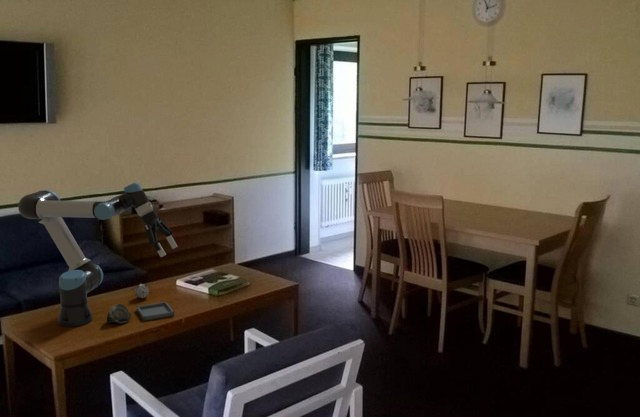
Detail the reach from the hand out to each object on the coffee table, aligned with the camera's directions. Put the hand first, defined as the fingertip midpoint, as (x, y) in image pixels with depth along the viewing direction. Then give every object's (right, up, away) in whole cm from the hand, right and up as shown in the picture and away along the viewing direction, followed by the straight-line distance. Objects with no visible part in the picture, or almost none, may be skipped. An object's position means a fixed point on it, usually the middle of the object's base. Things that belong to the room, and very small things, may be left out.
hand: (169, 251), depth 290 cm
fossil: (-23, -33, -2) cm, 41 cm away
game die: (-22, -27, +30) cm, 45 cm away
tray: (-9, -31, +8) cm, 33 cm away
